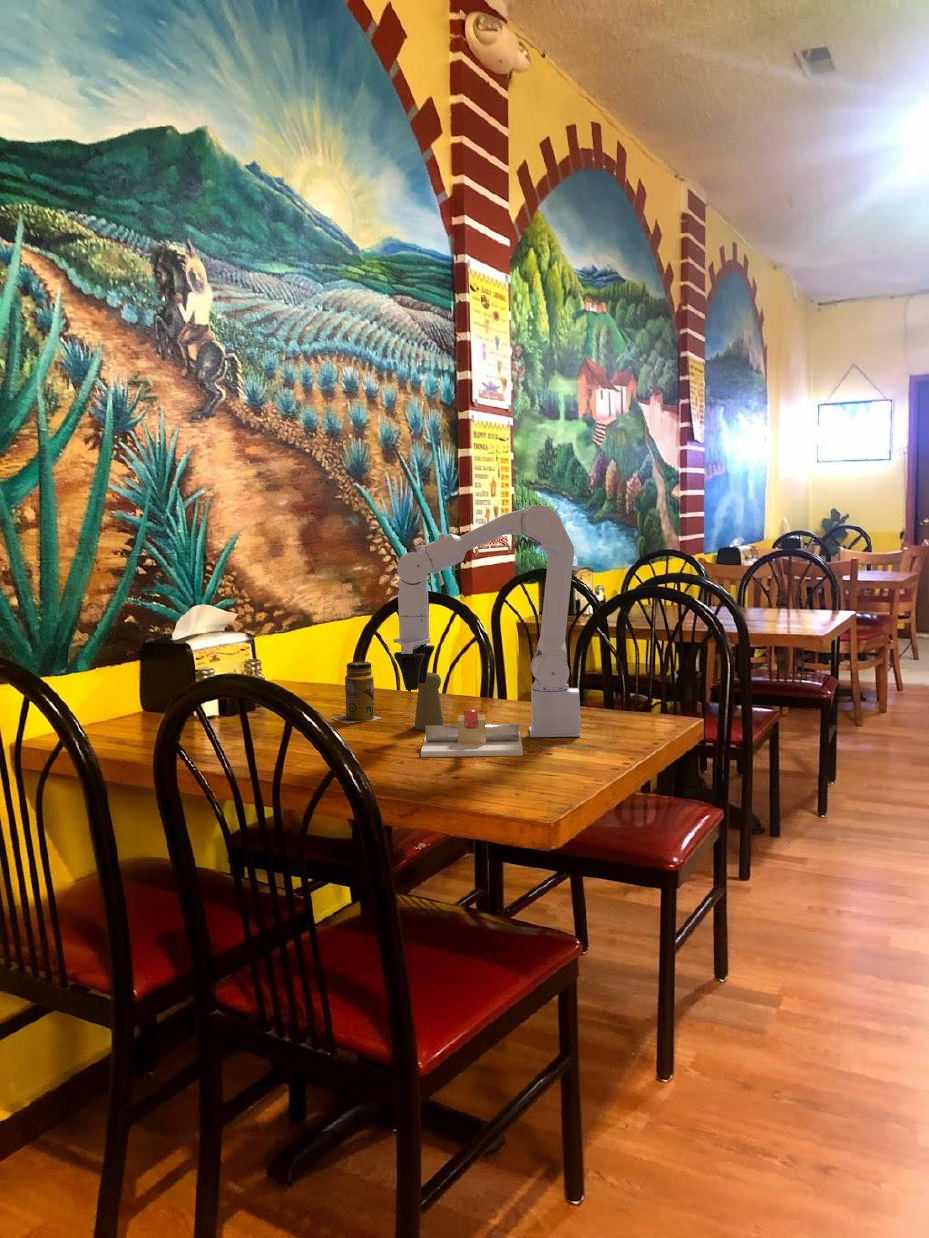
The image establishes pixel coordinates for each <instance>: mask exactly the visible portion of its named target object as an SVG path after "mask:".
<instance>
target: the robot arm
mask: <svg viewBox="0 0 929 1238" xmlns="http://www.w3.org/2000/svg"><path fill="white" fill-rule="evenodd" d="M505 535H511V536H512V535H514V536H522V535H523V536H525V537H526V538H527V539H530V540H531V541H533V542H535V543H536V544H537V545H538V547H540V549H541V550H542V551H543V553H545V554H546V555H547V565H546V575H545V576H546V577H545V585H544V596H543V607H542V614H541V615H542V616H541V626H540V634H539V635H540V636H539V639H538V642H537V648H536V652H535V655H534V656H533V658H532V660H531V662H530V666H529V667H530V672H531V674H532V676H533V677H534V678H535V680H534V681H533V683H532V684H531V686H530V693H531V695H530V696H531V697H530V700H531V703H530V704H531V705H530V707H531V709H530V710H531V725H530V726H528V732H529V735H530V738H561V737H562V738H567V737H570V738H573V737H581V725H582V718H581V701H580V690H579V688H577V687H569V684H568V683H567V682H568V680H569V678H570V668H569V666H568V663H567V644H566V634H567V625H568V615H569V605H570V595H571V587H572V586H571V584H572V576H573V575H572V574H573V566H574V559H575V558H574V557H575V546H574V544H573V542H572V540H571V538H570V536H569V534H568V533H567V530H566V529H565V526H564V524H563V521H562V518H561V517H560V516H559V514H557V513H556V512H555V511H554V510H553V509H551V508H550V507H549V506H547V505H544V504H536V505H529V506H526V507H525V508H523V509H518V510H515V511H512V512H508V513H505V514H501V515H500V516H498V517H495V518H493V519H492V520H489V521H488V522H486V523H484V524H482V525H480V526H478V527H475V528H474V529H472V530H470V531H468V532H467V533H464V534H463V535H460V536H459V535H456V534H454V533H448V534H446V535H445V533H444V532H443V533H440V534H439V535H437V539H436V540H433V541H431V542H429V543H427V544H425V545H423V546H421V545H417V546H415V547H414V549H415V551H416V552H415V551H411V552H410V551H409V552H407V553H404V554H403V555H402V556H401V557H400V559H399V560H398V562H397V565H396V571H397V574H398V576H399V579H398V583H397V584H398V585H397V586H398V589H399V591H398V592H397V600H398V601H397V603H398V604H397V605H398V630H399V637H395V638H394V639H393V640H392V641H393V643H394V644H399V645H400V651H396V652H394V653H393V657H394V659H395V662H396V663H397V665H398V667H399V669H400V672H401V677H402V680H403V685H404V688H405V690H406V691H418V683H425V682H426V678H427V672H428V671H429V665H430V660H431V658H432V654H433V653H434V650H435V645H432V644H430V643H431V637H430V615H429V614H430V612H429V592H428V590H427V577H428V575H429V574H432V575H436V574H437V573H440V572H441V571H444V570H446V569H448V568H450V567H453V566H455V565H456V564H459V563H462V562H463V561H464V560H465V558H466V553H467V552H468V551H470V550H472V549H475V548H477V547H480V546H482V545H484V544H487V543H489V542H490V541H494V540H496V539H498V538H500V537H503V536H505ZM427 644H428V645H427Z"/></svg>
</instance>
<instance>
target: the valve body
mask: <svg viewBox="0 0 929 1238" xmlns="http://www.w3.org/2000/svg"><path fill="white" fill-rule="evenodd" d="M486 719H487V718H486V714H478V728H475V729H466V728H464V714H458V718H457V724H448V725H446V724H444V725H431V726H426V730H425V735H426V742H457V741H458V744H486V741H519V732H520V731H519V724H518V723H516V724H515V723H511V724H506V723H504V724H486V723H487V721H486Z"/></svg>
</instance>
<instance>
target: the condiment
mask: <svg viewBox="0 0 929 1238" xmlns="http://www.w3.org/2000/svg"><path fill="white" fill-rule="evenodd" d="M345 672H346V675H345V677H344V685H345V686H344V687H345V688H344V689H345V715H341V716H332V717H331V719H333V720H335V721H337V722H340V723H343V724H354V723H359V722H361V723H362V722H371V721H376V720H380V719H382V718H383V717H380V716H375V692H374V691H375V687H374V685H375V684H374V683H375V682H374V674H372V673H373V670H372V663H371V662H369V661H352V662H348V663H347V664H346V671H345Z"/></svg>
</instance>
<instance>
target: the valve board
mask: <svg viewBox="0 0 929 1238" xmlns="http://www.w3.org/2000/svg"><path fill="white" fill-rule="evenodd" d="M424 735H425V736H424V739H423V742H422V746H421V750H420V757H421V758H428V757H429V758H430V757H431V758H437V757H439V758H440V757H441V758H442V757H445V758H446V757H447V758H449V757H506V756H507V757H509V756H511V757H513V756H516V757H517V756H518V757H519V756H523V755H524V749H523V743H522V737H521V732H520V731H519V741H486V744H458V741H457V742H426V734H424Z"/></svg>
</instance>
